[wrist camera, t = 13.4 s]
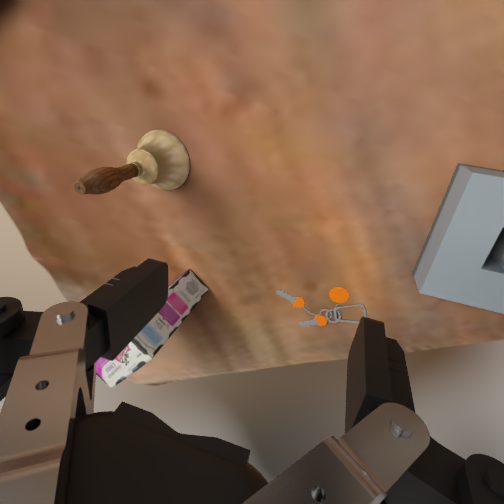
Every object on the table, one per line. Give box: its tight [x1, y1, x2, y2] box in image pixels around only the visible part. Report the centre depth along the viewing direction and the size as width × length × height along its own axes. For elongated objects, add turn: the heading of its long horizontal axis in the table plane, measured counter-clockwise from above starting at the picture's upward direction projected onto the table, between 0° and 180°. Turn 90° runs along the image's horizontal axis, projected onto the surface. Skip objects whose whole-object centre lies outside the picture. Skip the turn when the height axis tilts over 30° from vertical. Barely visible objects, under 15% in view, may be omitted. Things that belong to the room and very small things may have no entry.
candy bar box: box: [96, 269, 209, 388], centre depth 47 cm, size 11×5×16 cm, turn 135°
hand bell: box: [74, 130, 190, 194], centre depth 38 cm, size 8×8×16 cm
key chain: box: [276, 287, 367, 327], centre depth 47 cm, size 13×7×1 cm, turn 102°
